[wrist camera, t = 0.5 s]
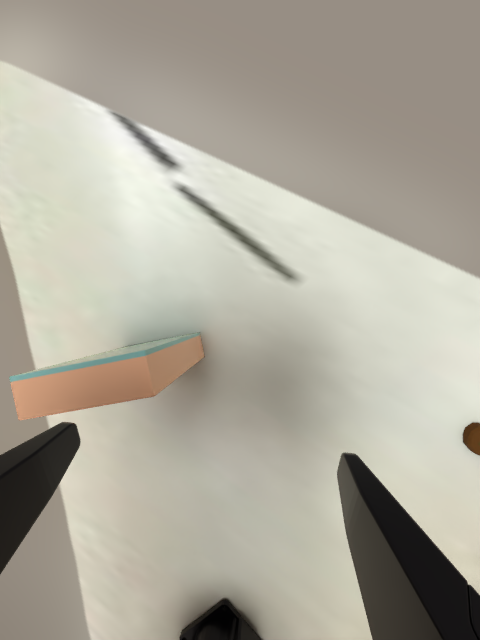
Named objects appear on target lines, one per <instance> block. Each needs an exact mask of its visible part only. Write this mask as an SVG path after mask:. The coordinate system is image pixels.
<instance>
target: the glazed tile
mask: <svg viewBox="0 0 480 640" xmlns="http://www.w3.org/2000/svg"><path fill="white" fill-rule="evenodd" d="M204 357H205V356H204V351H203V346H202V341H201V336H200V332H197V333H192V334H187V335H182V336H177V337H172V338H167V339H162V340H157V341H152V342H147V343H142V344H137V345H132V346H127V347H122V348H119V349H115V350H111V351H107V352H103V353H99V354H95V355H92V356H88V357H84V358H80V359H76V360H72V361H68V362H65V363H61V364H57V365H53V366H49V367H45V368H41V369H38V370H34V371H30V372H26V373H22V374H19V375H14V376H11V377H10V383H11V387H12V391H13V396H14V401H15V406H16V410H17V415H18V419H19V420H25V419H30V418H36V417H41V416H47V415H53V414H58V413H64V412H69V411H75V410H81V409H86V408H92V407H97V406H103V405H109V404H114V403H120V402H125V401H131V400H137V399H142V398H148V397H153V396H155V395H157V394H158V393H159V392H161V391H162V390H163V389H164V388H166V387H167V386H168V385H169V384H171V383H172V382H173V381H174V380H176V379H177V378H178V377H180V376H181V375H182V374H183V373H185V372H186V371H187V370H188V369H190V368H191V367H192V366H193V365H195V364H196V363H197V362H199V361H200V360H201V359H202V358H204Z"/></svg>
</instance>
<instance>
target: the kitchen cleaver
mask: <svg viewBox="0 0 480 640" xmlns="http://www.w3.org/2000/svg"><path fill="white" fill-rule="evenodd" d="M463 442H464V443H465V445H466V446H467V447H468V448H469V449H470V450H471V451H472V452H474V453H475V454H477V455H480V424H479V423H471V424H470V425H468V426H467V427H466V428H465V430H464V433H463Z"/></svg>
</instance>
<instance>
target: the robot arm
mask: <svg viewBox="0 0 480 640" xmlns="http://www.w3.org/2000/svg"><path fill="white" fill-rule="evenodd" d="M79 446H80V437H79V433H78V429H77V426H76V424H75V423H69V422H62V423H60V424H58V425H56V426H54V427H52V428H50V429H49V430H47V431H45V432H43V433H41V434H39V435H37V436H35V437H34V438H32V439H30V440H28V441H27V442H24V443H22V444H21V445H19V446H17V447H15V448H13V449H11V450H9V451H7V452H5V453H4V454H2V455H0V574H1V572H2V571H3V569H4V568H5V566H6V565H7V563H8V562H9V560H10V559H11V557H12V556H13V554H14V553H15V551H16V550H17V548H18V547H19V545H20V544H21V542H22V541H23V539H24V538H25V536H26V535H27V533H28V532H29V530H30V529H31V527H32V526H33V524H34V523H35V521H36V520H37V518H38V517H39V515H40V514H41V512H42V510H43V509H44V508H45V506H46V505H47V503H48V501H49V500H50V498H51V497H52V495H53V493H54V492H55V490H56V488H57V487H58V485H59V483H60V481H61V480H62V478H63V476H64V474H65V472H66V470H67V469H68V467H69V465H70V463H71V461H72V460H73V458H74V456H75V454H76V452H77V450H78V449H79ZM337 478H338V485H339V491H340V498H341V504H342V511H343V517H344V524H345V529H346V535H347V539H348V544H349V548H350V552H351V556H352V559H353V563H354V567H355V571H356V575H357V579H358V583H359V587H360V591H361V595H362V599H363V603H364V607H365V611H366V615H367V619H368V623H369V627H370V631H371V635H372V639H373V640H480V595H479V594H478V593H477V592H476V590H475V589H474V588H473V587H472V586H471V585H468V583H467V580H466V579H465V578H464V577H463V576H462V575H461V573H460V572H459V571H458V570H457V569H456V568H455V567H454V565H453V564H452V563H451V562H450V561H449V560H448V559H447V557H446V556H445V555H444V554H443V553H442V552H441V551H440V549H439V548H438V547H437V546H436V545H435V544H434V543H433V541H432V540H431V539H430V538H429V537H428V536H427V535H426V533H425V532H424V531H423V530H422V529H421V528H420V526H419V525H418V524H417V523H416V522H415V521H414V520H413V518H412V517H411V516H410V515H409V514H408V513H407V512H406V510H405V509H404V508H403V507H402V506H401V505H400V504H399V502H398V501H397V500H396V499H395V498H394V497H393V496H392V494H391V493H390V492H389V491H388V490H387V489H386V488H385V486H384V485H383V484H382V483H381V482H380V481H379V480H378V478H377V477H376V476H375V475H374V474H373V473H372V471H371V470H370V469H369V468H368V467H367V466H366V465H365V463H364V462H363V461H362V460H361V459H360V458H359V457H358V456H357V455H356V454H353V453H342V455H341V458H340V462H339V466H338V471H337ZM180 640H260V638H259V637H258V636H257V635H256V634H255V632H254V631H253V630H252V629H251V628H250V626H249V625H248V624H247V623H246V622H245V620H244V619H243V618H242V617H241V616H240V615H239V613H238V612H237V611H236V610H235V609H234V607H233V606H232V605H231V604H230V603H229V602H228V601H227V600H223V601H221V602H220V603H218V604H217V605H216V606H214V607H213V608H212V609H211V610H209V611H208V612H207V613H205V614H204V615H203V616H201V617H200V618H199V619H197V620H196V621H195V622H194V623H192V624H191V625H190V626H188V627H187V628H186V629H184V630H183V631H182V632H181V635H180Z"/></svg>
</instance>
